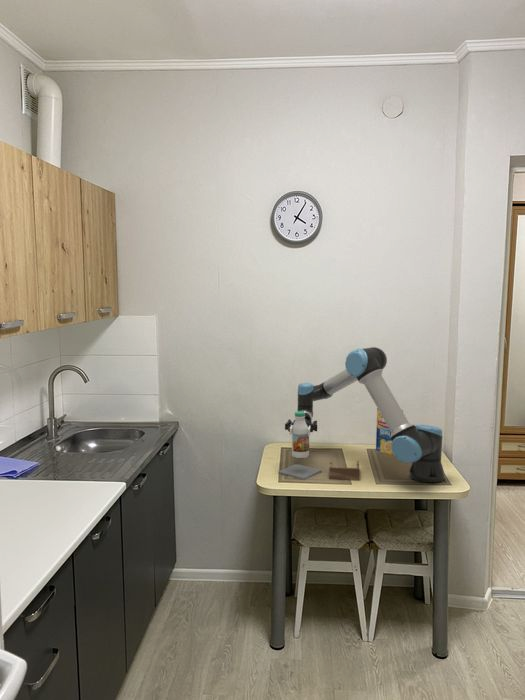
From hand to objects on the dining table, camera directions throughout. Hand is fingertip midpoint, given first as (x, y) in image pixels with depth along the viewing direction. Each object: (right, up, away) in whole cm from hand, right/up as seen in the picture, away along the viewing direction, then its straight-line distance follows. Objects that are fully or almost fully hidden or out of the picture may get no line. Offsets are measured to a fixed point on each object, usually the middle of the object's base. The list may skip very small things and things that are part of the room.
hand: (299, 432), depth 254 cm
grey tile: (+1, -19, +7) cm, 20 cm away
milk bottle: (+1, -12, +6) cm, 13 cm away
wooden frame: (+20, -20, +5) cm, 29 cm away
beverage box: (+48, -16, +40) cm, 64 cm away
